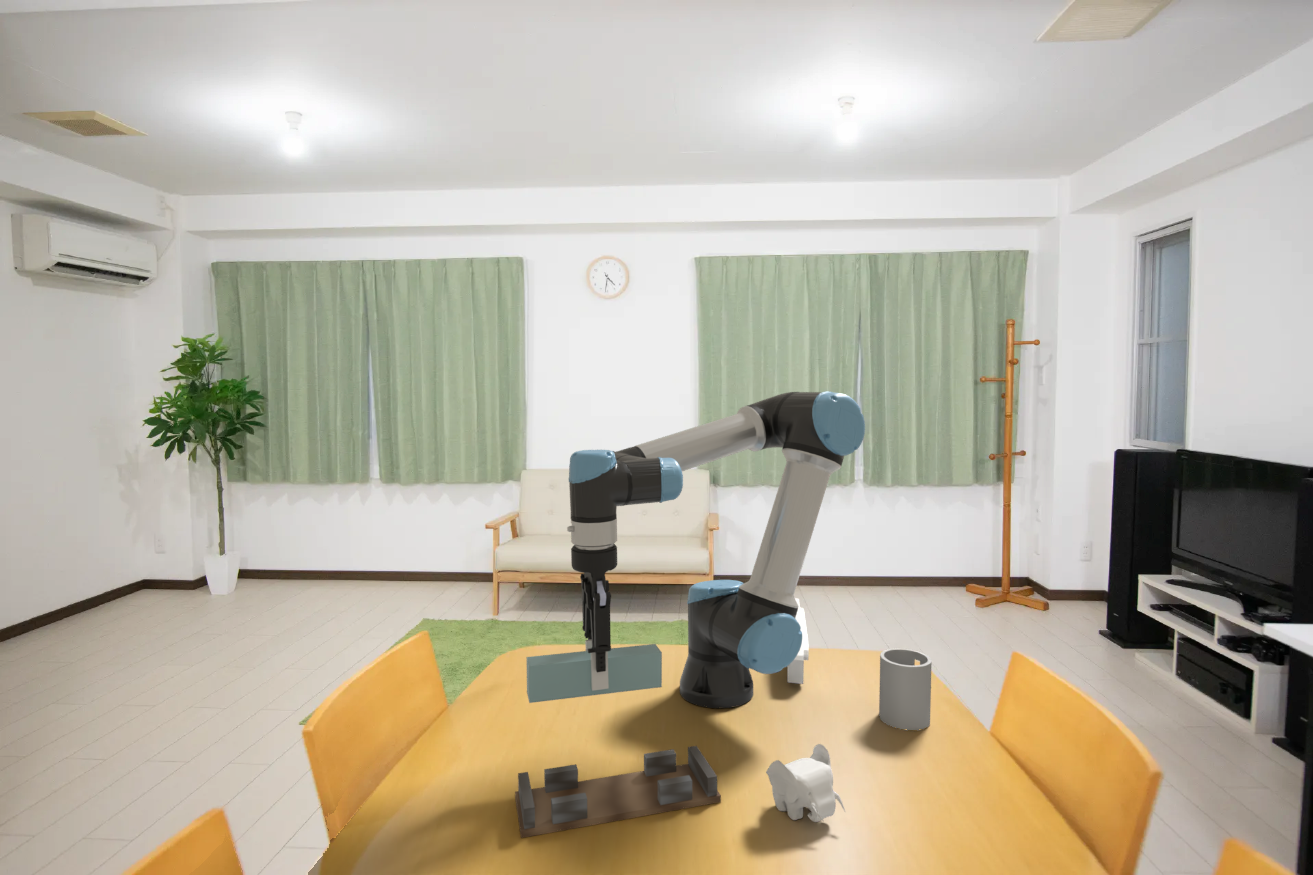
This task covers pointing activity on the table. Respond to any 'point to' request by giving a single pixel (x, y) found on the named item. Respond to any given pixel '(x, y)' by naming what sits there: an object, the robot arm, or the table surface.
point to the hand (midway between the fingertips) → (597, 682)
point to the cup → (905, 689)
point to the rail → (573, 673)
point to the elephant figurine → (805, 786)
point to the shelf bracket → (798, 663)
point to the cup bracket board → (614, 793)
